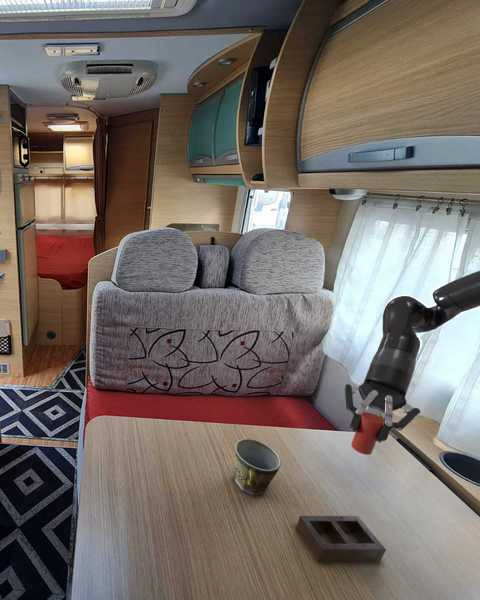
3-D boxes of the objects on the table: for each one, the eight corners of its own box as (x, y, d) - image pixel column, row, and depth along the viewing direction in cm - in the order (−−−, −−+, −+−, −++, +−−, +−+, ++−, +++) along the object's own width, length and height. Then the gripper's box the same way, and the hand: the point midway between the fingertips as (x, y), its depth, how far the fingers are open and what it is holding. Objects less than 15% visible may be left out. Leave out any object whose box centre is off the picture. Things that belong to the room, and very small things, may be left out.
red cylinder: (369, 446, 79) (381, 415, 76) (373, 457, 76) (386, 425, 72) (349, 440, 80) (360, 410, 77) (352, 450, 77) (364, 419, 74)
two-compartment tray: (352, 528, 73) (357, 515, 71) (379, 562, 66) (386, 549, 65) (295, 528, 73) (300, 515, 71) (317, 563, 66) (322, 549, 65)
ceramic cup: (232, 462, 90) (239, 433, 86) (273, 480, 84) (282, 449, 81) (221, 497, 79) (229, 466, 76) (268, 520, 74) (278, 487, 71)
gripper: (354, 354, 81) (329, 416, 77) (436, 378, 71) (412, 451, 67) (352, 365, 86) (328, 424, 82) (428, 389, 76) (405, 457, 73)
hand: (366, 435), depth 75 cm, fingers closed on red cylinder, 3 cm apart
